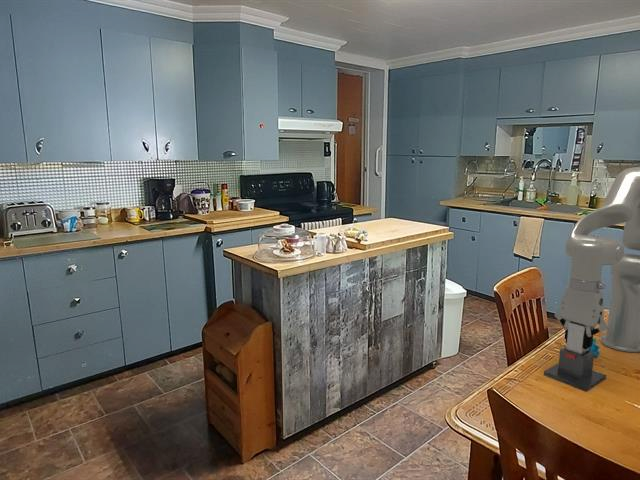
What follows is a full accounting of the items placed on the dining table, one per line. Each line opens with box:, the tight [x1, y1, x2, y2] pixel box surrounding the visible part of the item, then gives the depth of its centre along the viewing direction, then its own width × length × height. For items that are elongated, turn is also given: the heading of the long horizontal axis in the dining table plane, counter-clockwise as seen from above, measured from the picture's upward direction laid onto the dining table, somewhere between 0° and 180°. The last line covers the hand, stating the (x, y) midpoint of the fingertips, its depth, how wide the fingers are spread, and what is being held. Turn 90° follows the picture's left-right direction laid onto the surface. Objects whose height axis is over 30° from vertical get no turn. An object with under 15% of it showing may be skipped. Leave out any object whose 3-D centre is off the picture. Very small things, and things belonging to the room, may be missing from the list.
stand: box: [543, 346, 607, 393], centre depth 129 cm, size 12×12×8 cm
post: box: [565, 322, 589, 356], centre depth 128 cm, size 4×4×14 cm
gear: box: [588, 337, 601, 358], centre depth 146 cm, size 11×6×10 cm
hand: (577, 344), depth 128 cm, fingers closed on post, 4 cm apart
